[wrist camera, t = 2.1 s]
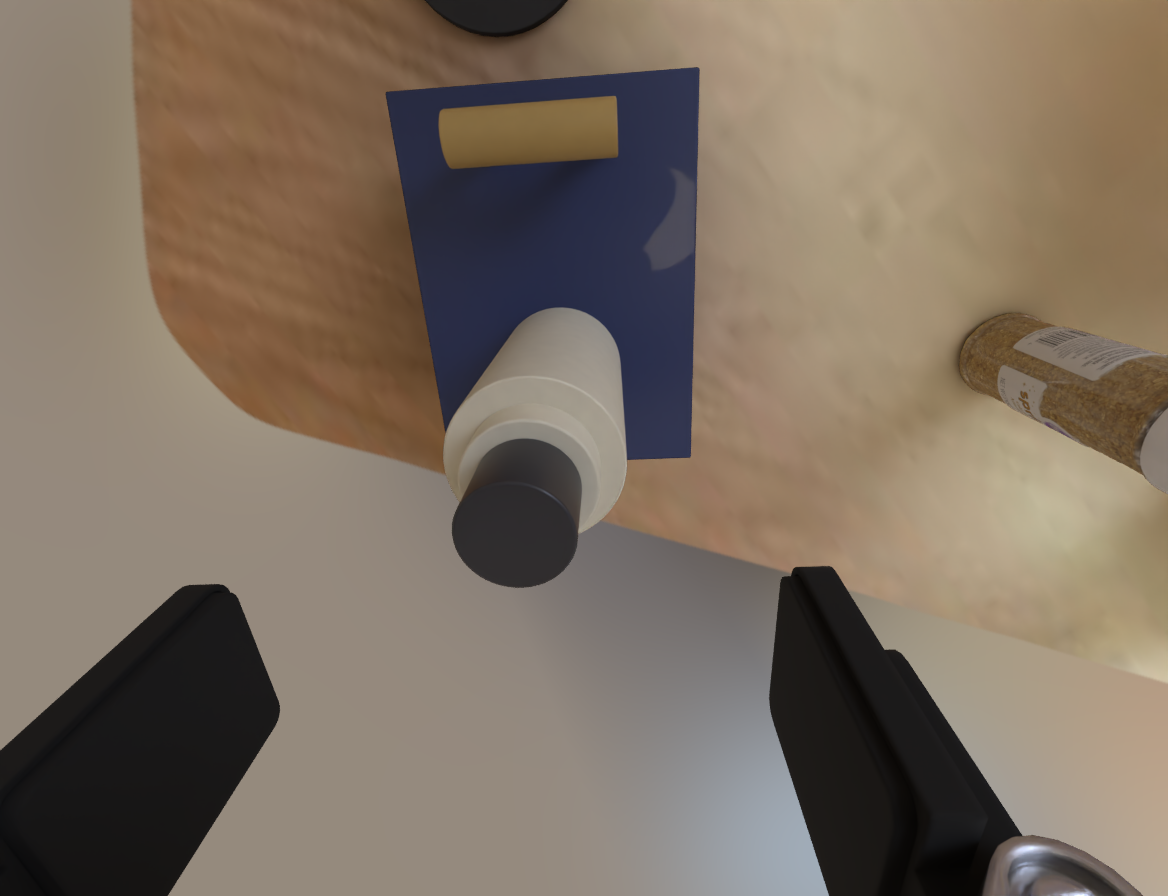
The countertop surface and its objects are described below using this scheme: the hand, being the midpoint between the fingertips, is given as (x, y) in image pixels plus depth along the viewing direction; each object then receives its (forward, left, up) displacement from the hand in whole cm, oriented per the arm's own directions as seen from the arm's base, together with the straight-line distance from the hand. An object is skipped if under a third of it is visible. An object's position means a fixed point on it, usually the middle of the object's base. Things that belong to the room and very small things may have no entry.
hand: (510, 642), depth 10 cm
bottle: (0, 0, -16) cm, 16 cm away
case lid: (-3, 0, -16) cm, 17 cm away
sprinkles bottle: (+6, +22, -23) cm, 33 cm away
